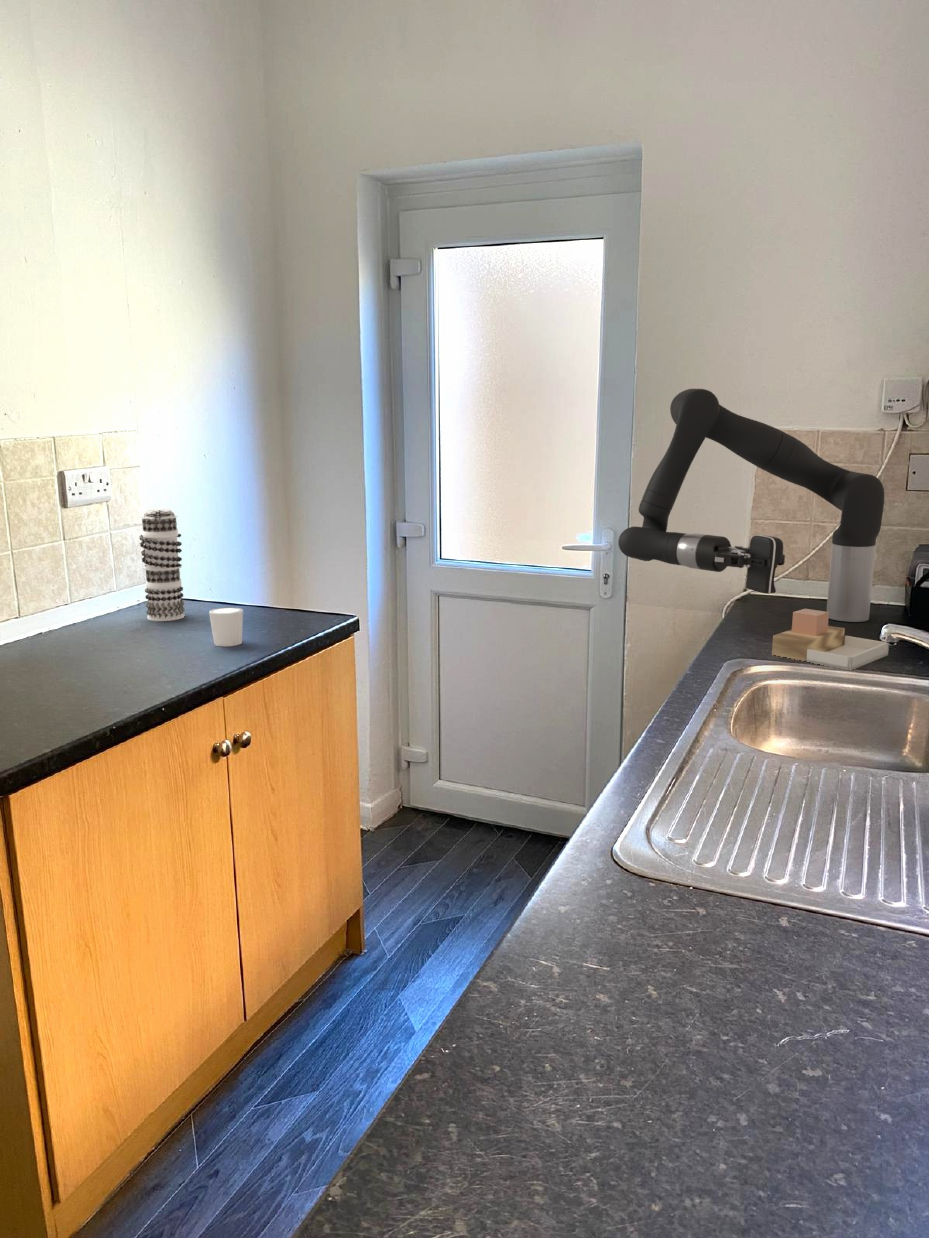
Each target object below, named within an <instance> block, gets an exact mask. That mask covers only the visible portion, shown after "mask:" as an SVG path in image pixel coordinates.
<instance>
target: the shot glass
mask: <svg viewBox="0 0 929 1238" xmlns="http://www.w3.org/2000/svg"><path fill="white" fill-rule="evenodd" d="M208 613H209V621H210V626H211V627H210V628H211V632H212V638H213V639H212V640H213V645H214V646H217V647H234V646H238V645H240V644H242V643H243V621H244V620H243V619H244V609H243V608H239V607H221V608H220V607H218V608H213V609H211V610H209V611H208Z"/></svg>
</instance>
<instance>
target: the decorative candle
mask: <svg viewBox="0 0 929 1238" xmlns="http://www.w3.org/2000/svg"><path fill="white" fill-rule="evenodd" d="M177 518H178V516H177V515H175V513H174V512H173V510H171V509H163V508H162V509H160V508H159V509H148V510H147V511H145V512H144V515H143V516H140V519H141V524H142V531H141V534H140V535H139V536H138V537H139V540H140V541H141V542H139V547H141V548H142V549H143V550H142V551H141V552H140V553H141V556H142V558H141V562H142V563H144V564H145V565H144V566H143V570H144V571H145V576H146V577H145V578H146V579H145V587H146V588H145V589H144V593H146V595H145V599H146V600H147V602H146V603H145V606H146V608H147V609H146V611H145V612H146V614H147V618H146V619H147V621H148V620H149V621H152V622H169V621H170V622H171V621H177V620H180V619H183V618H185V617H184V616H185V614H184V612H185V607H184V605H185V601H184V600H183V599H182V598H183V597H184V593H183V591H184V587H183V586H182V579H181V571H180V569H181V568H182V565H183V564H181V563H180V562H181V561H182V560H183V558H182V557H180V556H179V554H180V553H182V549H181V548H180V546H182V544H183V543H182V542H181V541H178V538H180V537H181V536H182V534H181V533H179V529H178V528H177V525H178V524H177Z"/></svg>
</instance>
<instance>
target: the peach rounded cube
mask: <svg viewBox="0 0 929 1238" xmlns="http://www.w3.org/2000/svg"><path fill="white" fill-rule="evenodd" d="M829 619H830V618H829V612H827V611H823V610H817V609H811V608H803V609H799V610H796V611H793V612H792V621H791V623H792V624H791V630H792V632H795V633H801V634H807V635H813V636H817V635H820V634H823V633H826V632H827V631H828V626H829Z"/></svg>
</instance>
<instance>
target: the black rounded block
mask: <svg viewBox="0 0 929 1238" xmlns="http://www.w3.org/2000/svg"><path fill="white" fill-rule="evenodd" d="M748 547H749V554H750V555H752V556H753V555H755V556H763V557H769V558H770V567H769V568H759V567H749V568H748V567H747V569H746V571H747V572H746V581H745V588H746V589H747V590H751V591H754V592H758V593H761V594H767V595H770V594H775V593H776V592H777V590H776V586H775V574H776V569H777V568H778V565H777V564H781V563H782V559H783V555H784V541H783V540H782V539H781V538H779V537H775V536H771V535H761V534H755V535H754V536H752V537H751V538H750V542H749V546H748Z"/></svg>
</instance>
